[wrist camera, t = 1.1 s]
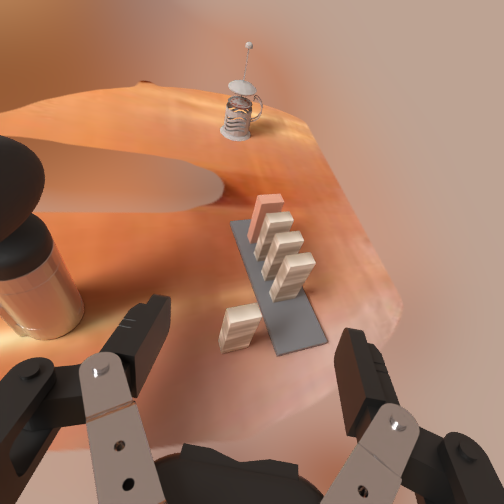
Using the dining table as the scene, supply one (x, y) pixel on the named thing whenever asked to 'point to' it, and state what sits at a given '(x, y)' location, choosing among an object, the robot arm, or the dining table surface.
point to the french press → (239, 127)
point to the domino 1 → (239, 327)
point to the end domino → (263, 213)
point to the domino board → (278, 303)
